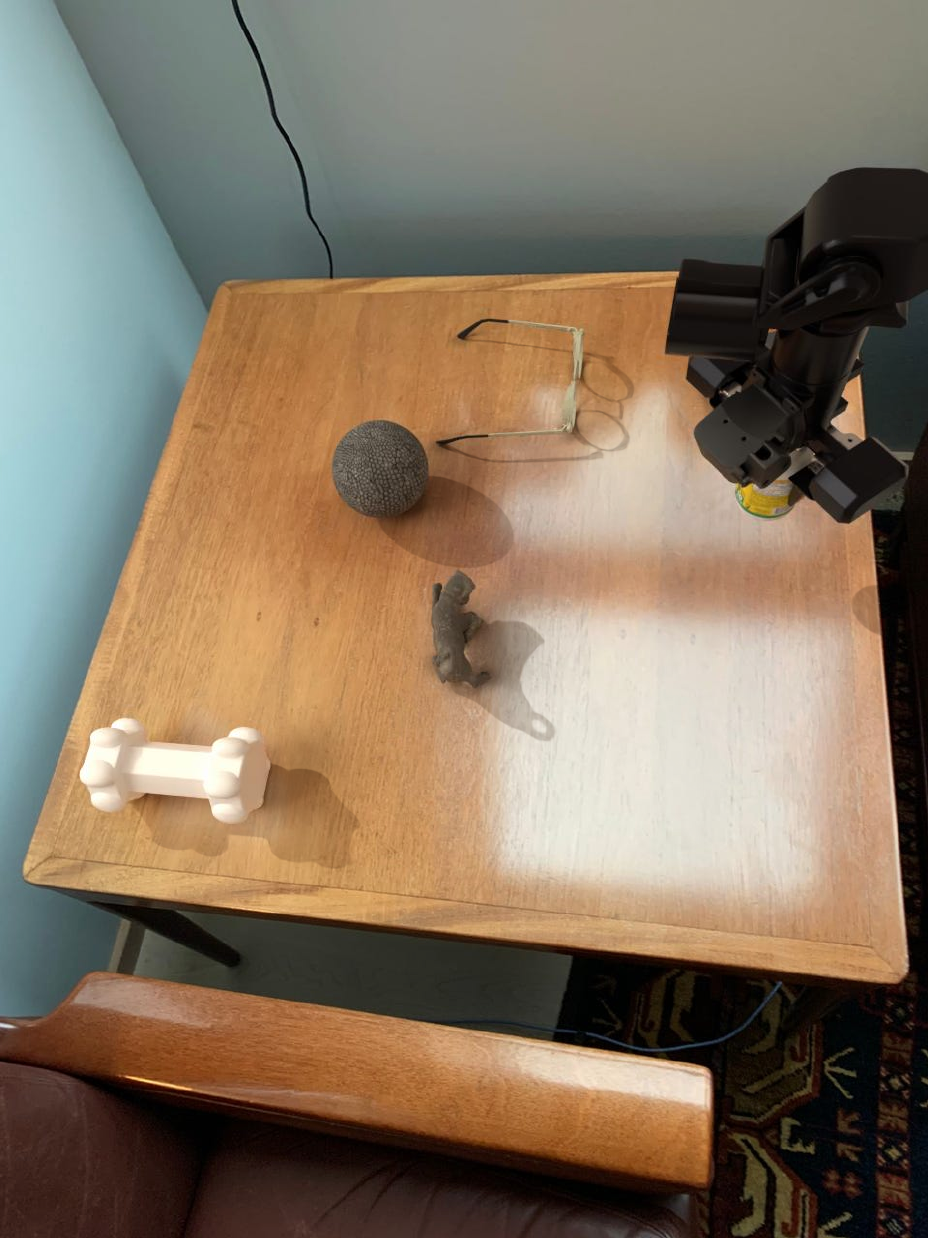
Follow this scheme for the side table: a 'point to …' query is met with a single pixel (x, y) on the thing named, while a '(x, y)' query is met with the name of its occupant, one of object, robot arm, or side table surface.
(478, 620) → the dog figurine
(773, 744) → the side table surface
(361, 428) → the decorative ball
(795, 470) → the supplement bottle
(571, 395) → the eyeglasses
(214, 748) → the dog bone
